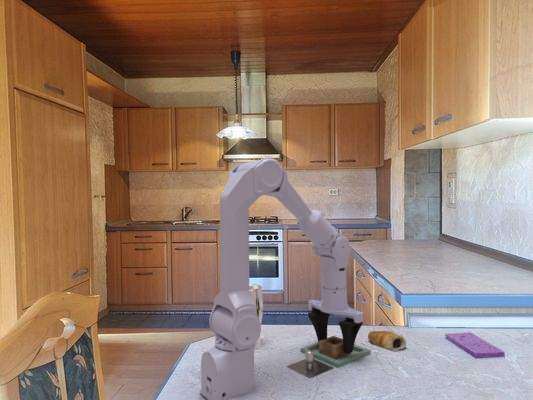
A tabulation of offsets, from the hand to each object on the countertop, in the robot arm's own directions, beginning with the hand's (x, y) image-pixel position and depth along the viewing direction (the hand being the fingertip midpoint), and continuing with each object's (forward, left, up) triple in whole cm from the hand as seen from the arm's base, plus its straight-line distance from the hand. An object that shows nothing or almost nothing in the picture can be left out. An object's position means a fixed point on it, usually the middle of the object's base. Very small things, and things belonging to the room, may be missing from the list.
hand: (335, 347), depth 82 cm
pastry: (+15, -3, -3) cm, 16 cm away
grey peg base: (-9, -2, -2) cm, 10 cm away
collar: (0, 0, -2) cm, 2 cm away
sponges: (+30, -17, -3) cm, 34 cm away
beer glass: (-11, +17, -3) cm, 21 cm away
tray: (0, 0, -2) cm, 2 cm away
